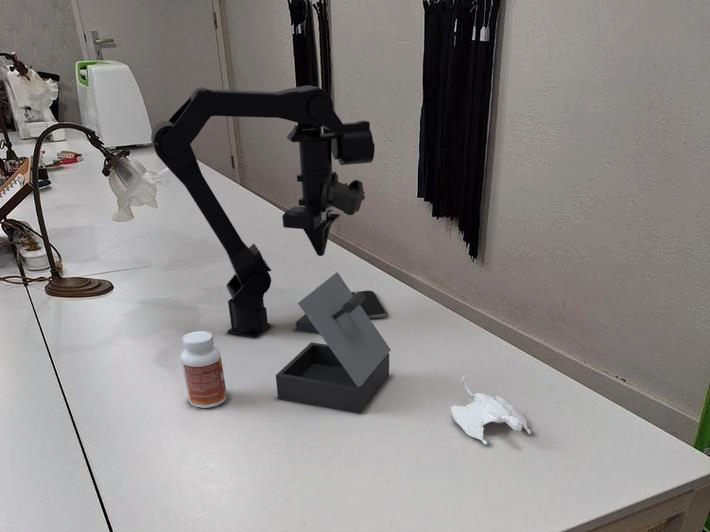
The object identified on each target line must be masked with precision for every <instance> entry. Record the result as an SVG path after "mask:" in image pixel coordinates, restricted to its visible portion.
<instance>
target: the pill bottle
mask: <svg viewBox="0 0 710 532" xmlns="http://www.w3.org/2000/svg"><path fill="white" fill-rule="evenodd" d="M182 347H183V348H184V349H183V351H182V352H181V354H180V360H181V365H182V370H183V376H184V382H185V387H186V392H187V396H188V400H189V403H190V404H191V405H192V406H194V407H196V408H202V409H207V408H208V409H209V408H214V407H217V406H220V405H221V404H223V403H224V402H225V401H226V400H227V397H228V394H227V393H228V392H227V388H226V387H227V386H226V380H225V374H224V368H223V361H222V355H221V352H220V350H219V348H218V347H217V346H215V340H214V335H213V334H212V333H211V332H209V331H206V330H205V331H204V330H203V331H202V330H200V331H199V330H198V331H193V332H189V333H186V334H185V335H183V336H182Z"/></svg>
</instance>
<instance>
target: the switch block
mask: <svg viewBox="0 0 710 532" xmlns="http://www.w3.org/2000/svg"><path fill="white" fill-rule="evenodd" d="M295 330H296V331H300V332H306V333H315V334H319V332H318V331H317V329H316V328H315V327H314V325H313V324H312V322H311V321H310V320H309V318H308V317H307V315H306V314H305V313H304V314H303V315H302V316H301V317H299V319H297V321H295Z"/></svg>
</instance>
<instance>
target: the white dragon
mask: <svg viewBox="0 0 710 532" xmlns="http://www.w3.org/2000/svg"><path fill="white" fill-rule="evenodd" d="M466 377H467V374H465V375H462V376H460V377H459V379H460V382H461V384H462V388H464V390H465V393H466V394H467V397H468V398H469V399H472V400H473V401H471V402H470V403H467V405H465V406H464V405H451V406H450V414H451V416H452V419H453V420H454V421H455V422H456V423H457V424H458V425H459V427H461V429H463V431H464V432H465V434H466V435H468V436H470V437H471V438H475V439H477V440H480V441H481V442H482V443H483V445H485V446H488V441H487V440H486V439H484V430H485V428H484V426H485V425H487V424H489V423H496V424H503V423H505V424H507V425H508V427H510V428H511V429H512V430H513V431H514V432H521V431H522V430H523V429H524V430H525V431H526V432H527V434H528V435H532V431H531V430H530V429H529V428H528V420H527V419H526V418H525V416H523V415H522V413H521V412H520V411H518V410H517V409H516V408H515V407H514V405H512V404H510V403H509V402H507V401H506V400H505V399H503V398H502V397H501V396H499V395H496V396H495V398H494V397H493V396H490V395H488V394H487V393H483V392H478V393H473V392H471V390H470V389H469V387H468V386H467V385H466V382H465V380H466Z"/></svg>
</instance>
